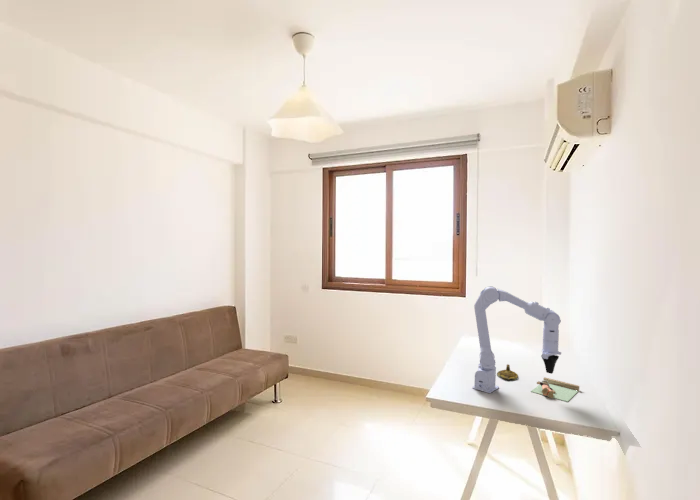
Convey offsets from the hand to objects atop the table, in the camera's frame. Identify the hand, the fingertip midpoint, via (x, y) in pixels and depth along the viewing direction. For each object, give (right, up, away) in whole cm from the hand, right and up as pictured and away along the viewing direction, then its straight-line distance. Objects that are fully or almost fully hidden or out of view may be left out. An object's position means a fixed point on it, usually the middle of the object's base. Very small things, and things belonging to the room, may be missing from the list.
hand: (549, 372), depth 153 cm
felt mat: (+5, -10, +5) cm, 12 cm away
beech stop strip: (+11, -10, +12) cm, 19 cm away
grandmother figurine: (-2, -8, -1) cm, 8 cm away
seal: (-7, -10, +24) cm, 27 cm away
